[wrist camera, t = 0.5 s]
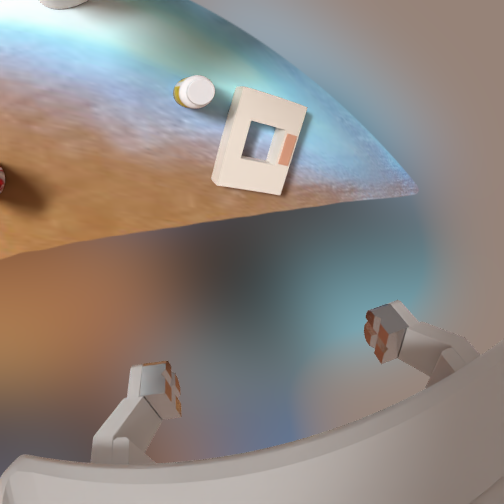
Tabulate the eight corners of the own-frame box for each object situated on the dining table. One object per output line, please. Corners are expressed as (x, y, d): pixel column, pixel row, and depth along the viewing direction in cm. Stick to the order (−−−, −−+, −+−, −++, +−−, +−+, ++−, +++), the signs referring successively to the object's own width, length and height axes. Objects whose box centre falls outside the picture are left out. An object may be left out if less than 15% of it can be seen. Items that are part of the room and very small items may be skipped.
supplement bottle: (191, 112, 46) (204, 116, 38) (166, 96, 43) (174, 96, 35) (210, 88, 45) (227, 87, 37) (185, 71, 42) (197, 66, 34)
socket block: (235, 86, 46) (244, 86, 43) (296, 105, 52) (308, 107, 49) (211, 179, 54) (217, 185, 50) (271, 188, 60) (280, 195, 56)
